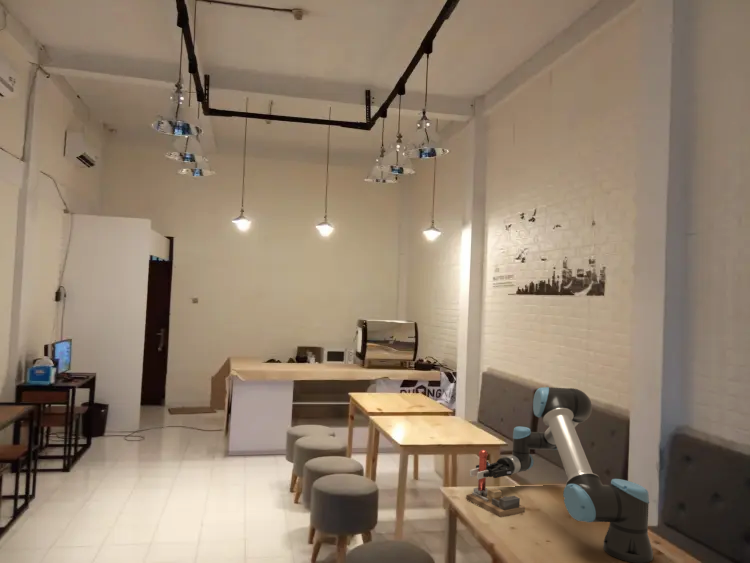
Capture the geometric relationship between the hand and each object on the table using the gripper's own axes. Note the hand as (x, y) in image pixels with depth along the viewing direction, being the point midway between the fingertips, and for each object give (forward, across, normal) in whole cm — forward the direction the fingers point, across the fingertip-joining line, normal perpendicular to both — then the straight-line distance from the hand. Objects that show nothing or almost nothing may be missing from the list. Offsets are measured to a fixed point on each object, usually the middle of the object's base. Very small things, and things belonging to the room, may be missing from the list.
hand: (474, 474), depth 225 cm
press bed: (-4, -8, -11) cm, 14 cm away
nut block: (-4, -7, -9) cm, 12 cm away
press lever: (-5, -2, -9) cm, 10 cm away
